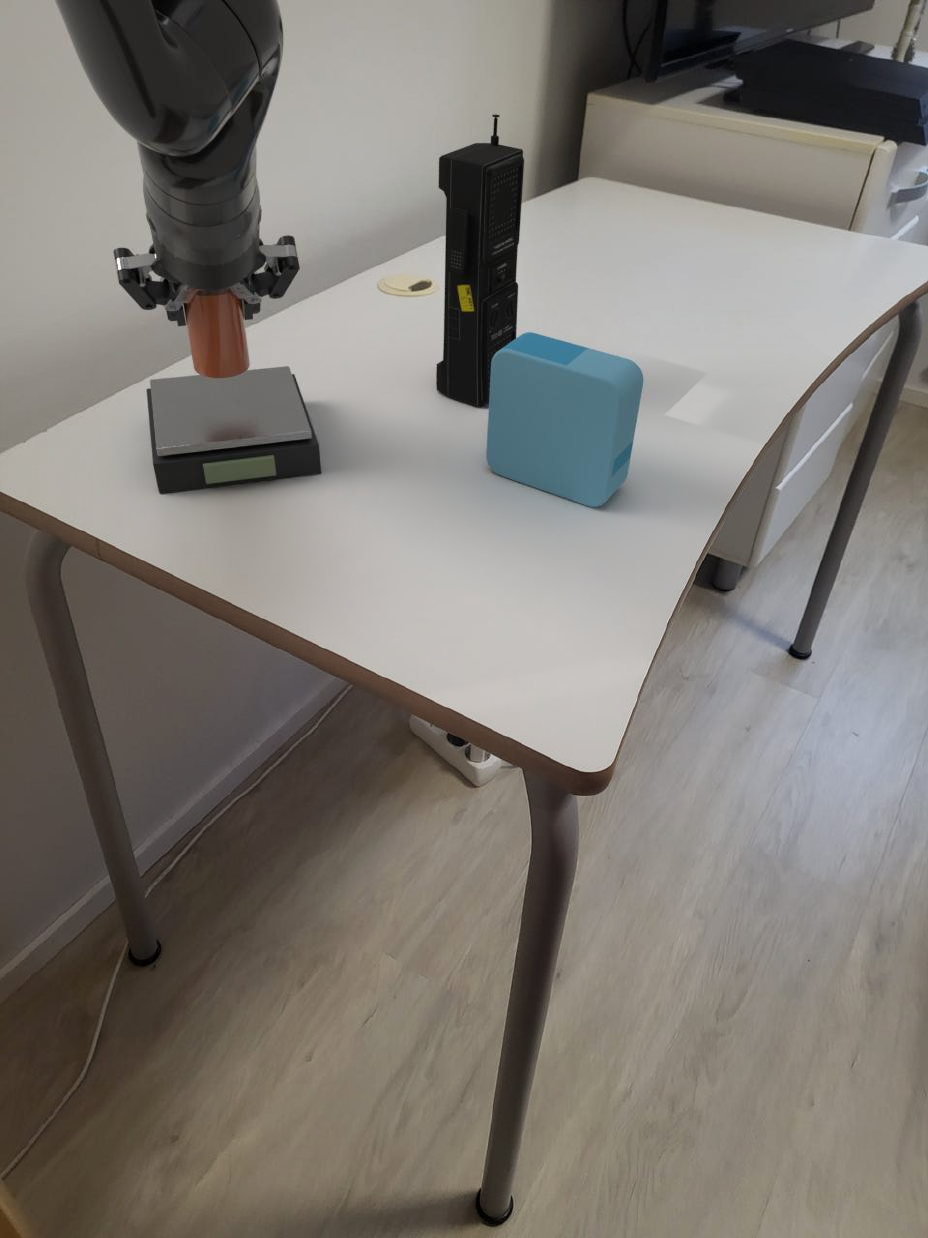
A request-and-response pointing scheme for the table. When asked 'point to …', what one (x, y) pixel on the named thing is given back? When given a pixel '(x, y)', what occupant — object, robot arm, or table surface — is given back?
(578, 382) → the data package
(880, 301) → the table surface
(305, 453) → the scale
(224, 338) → the spice tin
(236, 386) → the scale pan
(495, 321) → the portable radio
